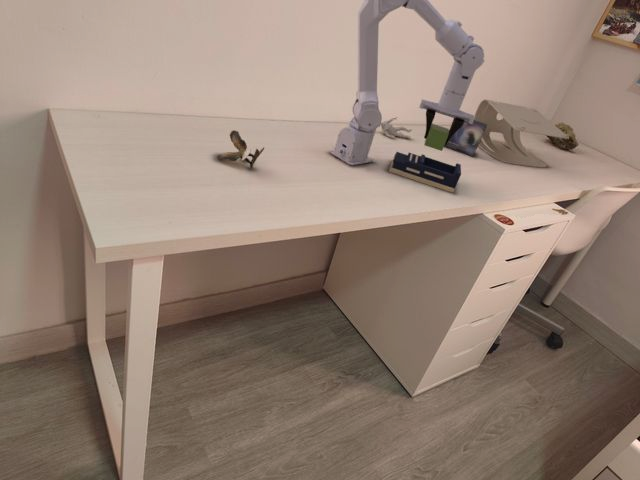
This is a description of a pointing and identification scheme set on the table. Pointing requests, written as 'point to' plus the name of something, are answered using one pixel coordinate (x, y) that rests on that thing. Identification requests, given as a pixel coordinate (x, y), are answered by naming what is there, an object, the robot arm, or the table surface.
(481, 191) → the table surface
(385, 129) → the soldier figure
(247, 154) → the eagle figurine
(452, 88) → the robot arm
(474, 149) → the small box
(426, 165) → the navy slotted organizer
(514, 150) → the laptop stand
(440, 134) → the green cube
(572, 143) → the mineral specimen
